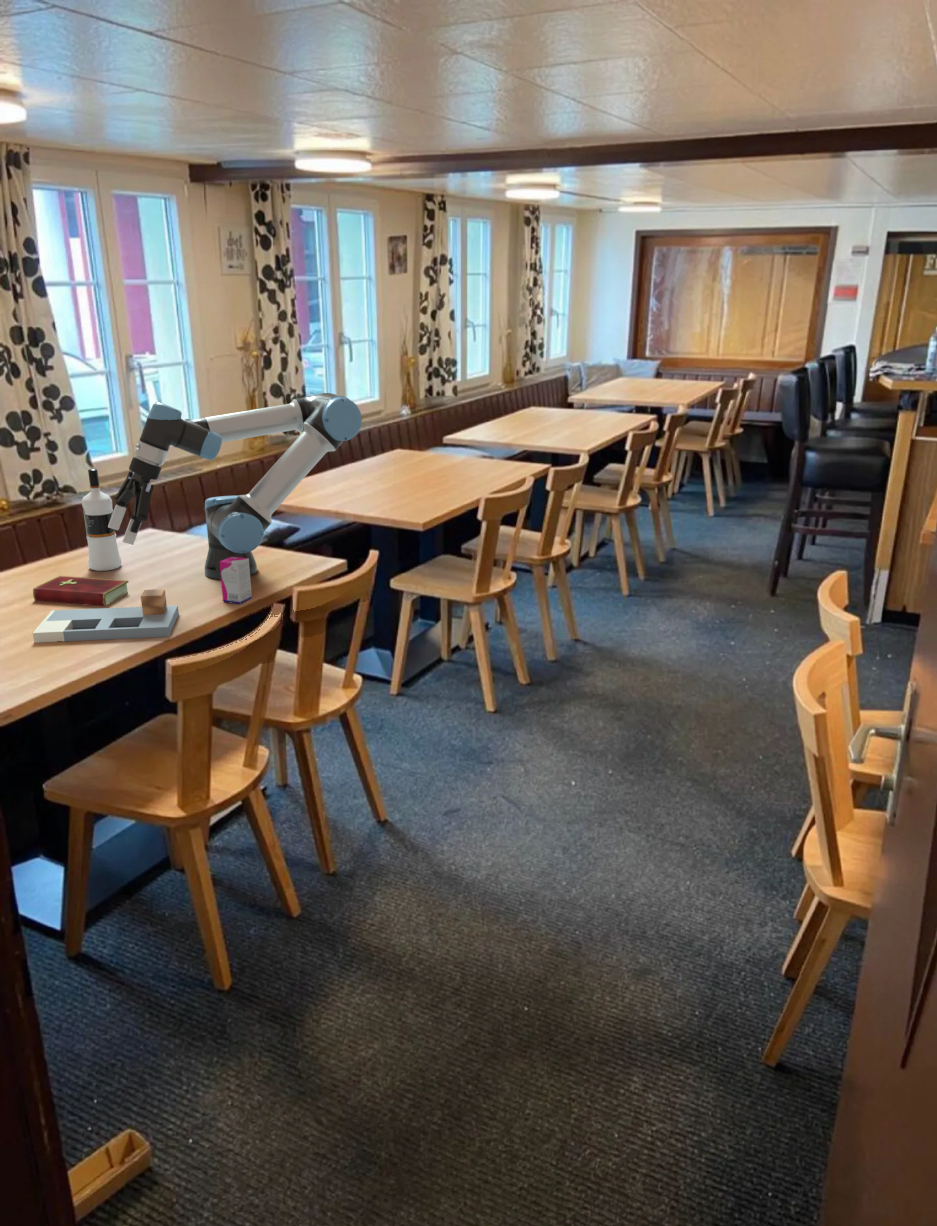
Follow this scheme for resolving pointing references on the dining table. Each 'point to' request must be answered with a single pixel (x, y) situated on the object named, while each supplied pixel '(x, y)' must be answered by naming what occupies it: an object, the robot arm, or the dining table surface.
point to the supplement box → (235, 580)
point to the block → (153, 602)
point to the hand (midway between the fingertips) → (120, 535)
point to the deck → (104, 624)
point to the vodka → (99, 527)
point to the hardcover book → (80, 590)
